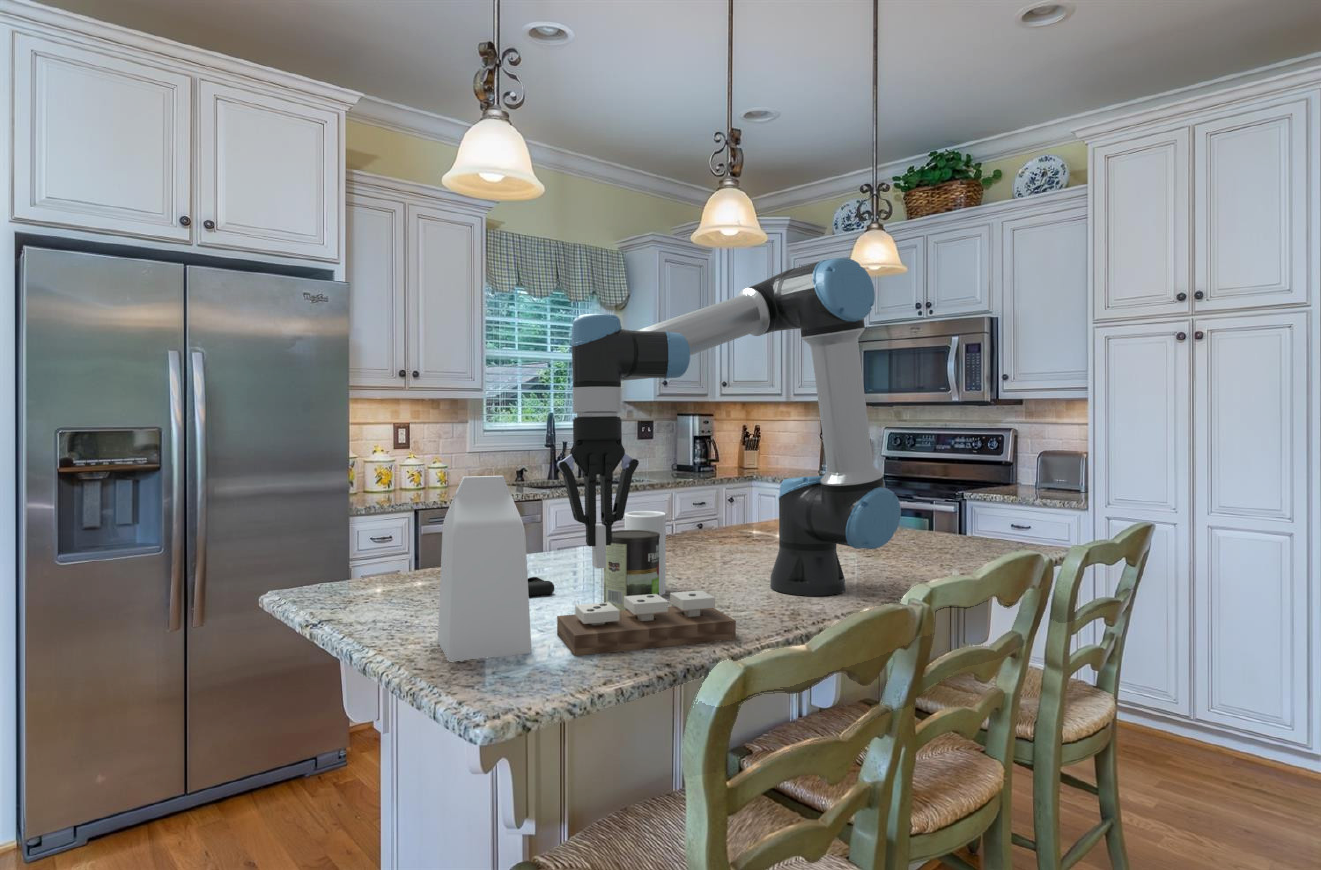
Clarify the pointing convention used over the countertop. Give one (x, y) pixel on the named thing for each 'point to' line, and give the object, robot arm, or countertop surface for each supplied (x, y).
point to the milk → (483, 574)
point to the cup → (656, 524)
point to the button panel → (645, 631)
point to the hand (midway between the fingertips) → (599, 566)
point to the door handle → (539, 587)
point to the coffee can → (631, 566)
